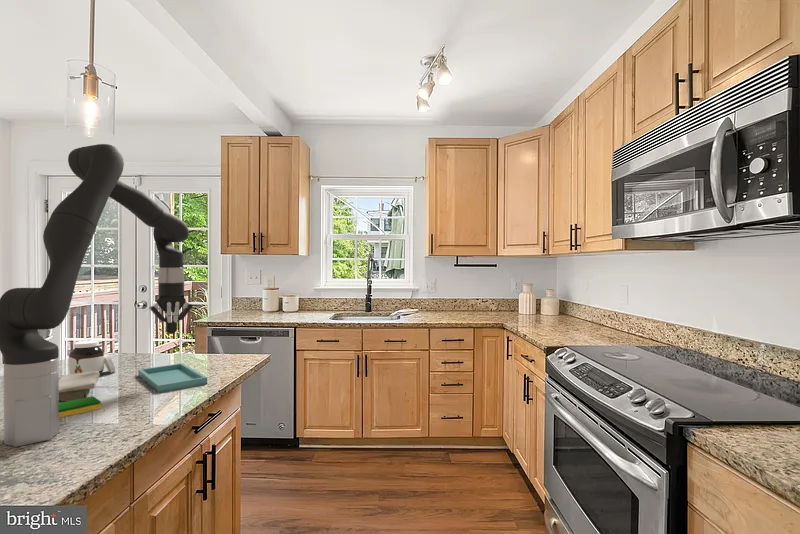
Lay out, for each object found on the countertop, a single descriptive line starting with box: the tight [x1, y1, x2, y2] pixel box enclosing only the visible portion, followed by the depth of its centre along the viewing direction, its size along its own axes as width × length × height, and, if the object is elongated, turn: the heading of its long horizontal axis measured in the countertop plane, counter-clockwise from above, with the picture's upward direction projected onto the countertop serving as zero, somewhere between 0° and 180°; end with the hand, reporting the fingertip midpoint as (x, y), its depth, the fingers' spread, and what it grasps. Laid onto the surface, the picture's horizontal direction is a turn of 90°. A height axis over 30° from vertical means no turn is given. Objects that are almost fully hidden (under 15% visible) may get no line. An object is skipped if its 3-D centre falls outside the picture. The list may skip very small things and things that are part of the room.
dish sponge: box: [59, 395, 102, 419], centre depth 110 cm, size 7×14×2 cm, turn 140°
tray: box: [137, 362, 208, 394], centre depth 141 cm, size 26×14×2 cm, turn 43°
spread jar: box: [67, 340, 116, 375], centre depth 147 cm, size 12×11×12 cm
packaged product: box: [59, 371, 101, 402], centre depth 124 cm, size 18×5×10 cm
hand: (171, 333), depth 141 cm, fingers closed
